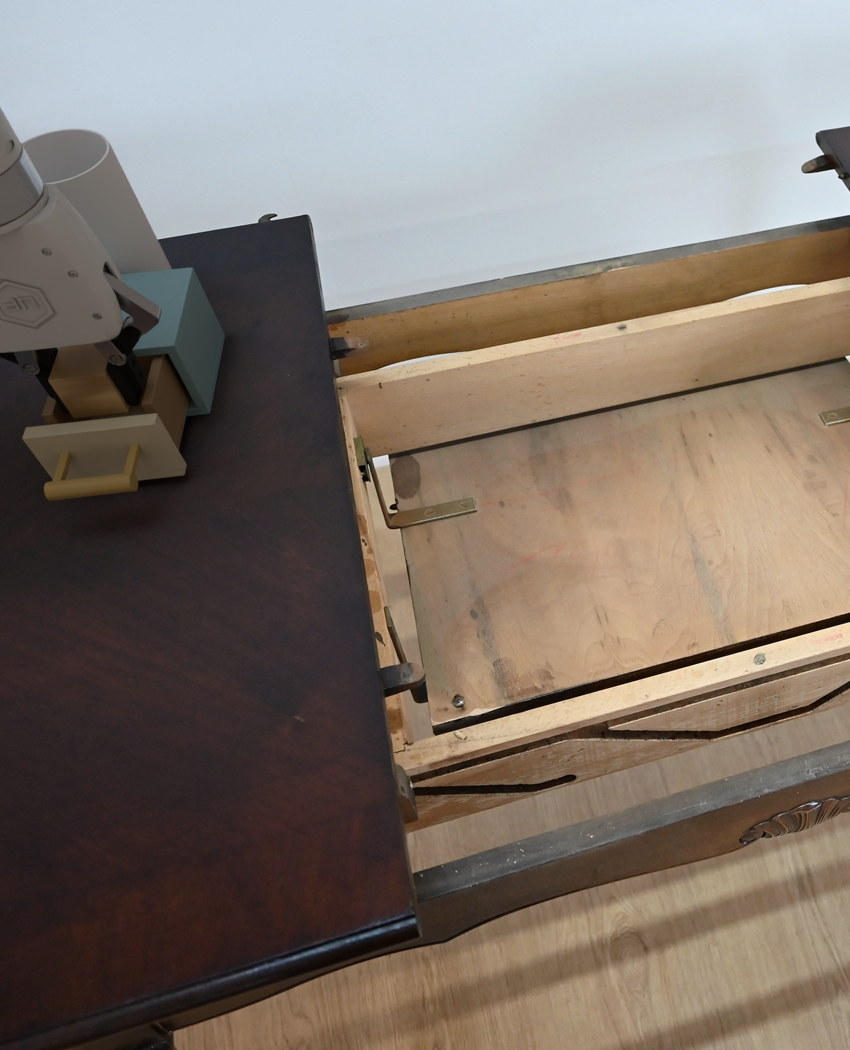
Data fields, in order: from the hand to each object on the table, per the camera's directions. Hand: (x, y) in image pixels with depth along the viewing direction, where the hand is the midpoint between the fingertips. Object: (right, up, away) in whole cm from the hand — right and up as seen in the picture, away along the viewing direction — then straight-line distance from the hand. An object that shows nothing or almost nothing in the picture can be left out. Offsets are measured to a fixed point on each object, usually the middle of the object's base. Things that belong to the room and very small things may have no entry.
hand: (104, 395), depth 80 cm
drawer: (0, -5, +3) cm, 6 cm away
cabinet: (-1, +2, +10) cm, 10 cm away
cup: (-6, +9, +16) cm, 19 cm away
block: (0, 0, 0) cm, 0 cm away
